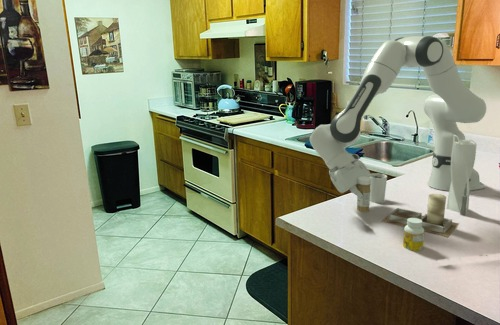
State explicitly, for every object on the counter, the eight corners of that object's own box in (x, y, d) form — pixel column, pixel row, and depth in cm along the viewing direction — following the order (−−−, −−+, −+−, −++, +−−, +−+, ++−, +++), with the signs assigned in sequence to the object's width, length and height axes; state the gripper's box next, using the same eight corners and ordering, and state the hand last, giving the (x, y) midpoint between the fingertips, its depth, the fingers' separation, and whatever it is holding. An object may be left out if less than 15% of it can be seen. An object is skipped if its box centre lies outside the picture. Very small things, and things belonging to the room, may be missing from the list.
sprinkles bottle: (354, 211, 147) (356, 176, 143) (366, 210, 147) (368, 175, 144) (359, 216, 142) (360, 180, 139) (371, 215, 143) (373, 179, 139)
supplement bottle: (425, 255, 114) (428, 224, 111) (406, 255, 114) (409, 224, 111) (418, 246, 119) (420, 216, 116) (399, 247, 119) (402, 216, 117)
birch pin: (437, 222, 132) (439, 193, 130) (446, 228, 127) (449, 198, 125) (423, 223, 131) (425, 194, 129) (431, 229, 127) (434, 199, 124)
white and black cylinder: (364, 200, 158) (365, 176, 155) (373, 196, 162) (374, 172, 160) (380, 204, 153) (381, 179, 151) (388, 199, 158) (390, 175, 155)
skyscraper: (439, 213, 143) (447, 136, 136) (449, 207, 148) (457, 132, 141) (463, 220, 137) (473, 139, 130) (474, 213, 142) (483, 136, 135)
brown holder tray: (380, 225, 134) (380, 216, 134) (394, 213, 144) (395, 204, 143) (447, 242, 121) (448, 231, 120) (458, 227, 131) (459, 218, 130)
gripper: (333, 165, 137) (358, 198, 133) (359, 153, 152) (383, 182, 148) (321, 175, 141) (345, 208, 137) (348, 163, 156) (370, 192, 152)
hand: (365, 194), depth 143 cm, fingers closed on sprinkles bottle, 4 cm apart
